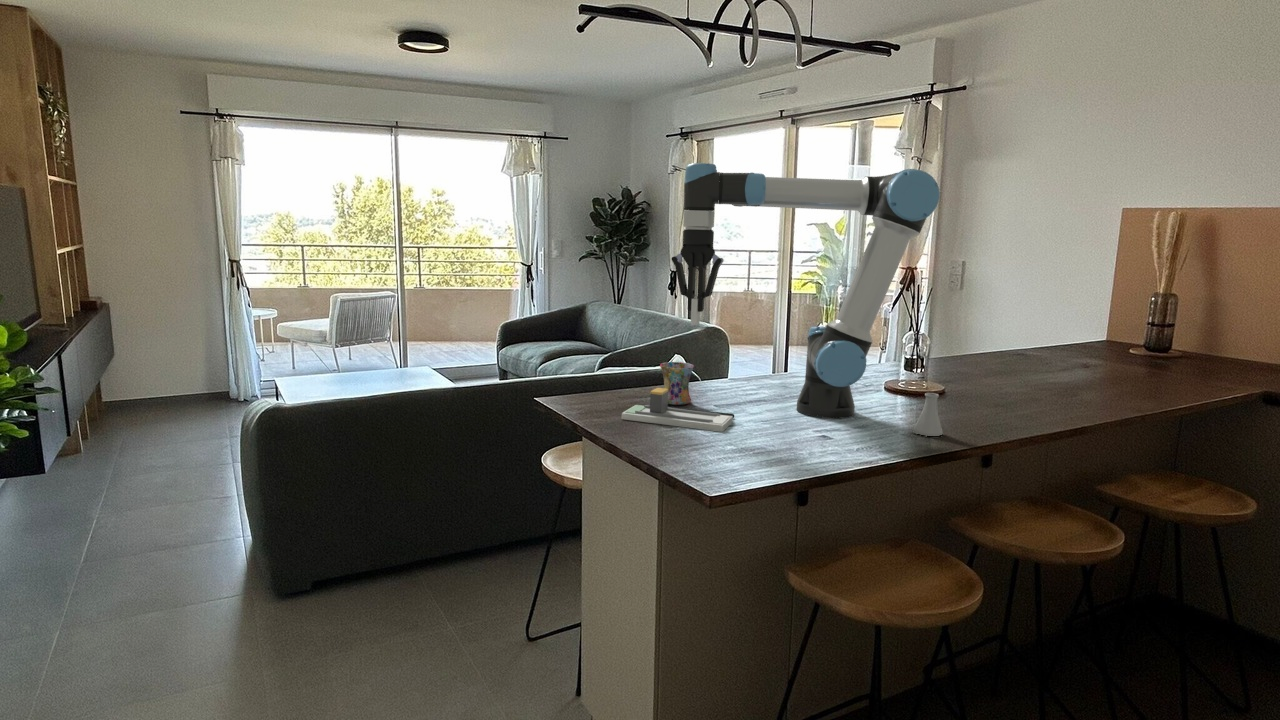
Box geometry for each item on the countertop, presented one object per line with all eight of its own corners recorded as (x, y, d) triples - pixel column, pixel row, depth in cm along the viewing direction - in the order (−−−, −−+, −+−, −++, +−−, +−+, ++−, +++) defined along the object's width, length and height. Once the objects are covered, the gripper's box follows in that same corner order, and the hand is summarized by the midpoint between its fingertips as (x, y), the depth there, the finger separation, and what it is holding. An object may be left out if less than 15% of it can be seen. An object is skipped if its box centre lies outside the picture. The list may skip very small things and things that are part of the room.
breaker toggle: (667, 410, 196) (668, 388, 195) (661, 414, 191) (661, 392, 190) (656, 408, 197) (657, 387, 196) (649, 413, 192) (650, 391, 191)
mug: (697, 406, 208) (699, 367, 206) (664, 407, 206) (666, 368, 204) (682, 396, 219) (684, 359, 218) (651, 397, 217) (652, 360, 215)
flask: (940, 440, 182) (944, 399, 181) (909, 434, 186) (912, 394, 184) (946, 433, 188) (950, 393, 187) (915, 428, 192) (919, 389, 190)
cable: (734, 418, 197) (734, 413, 197) (733, 419, 196) (734, 414, 195) (647, 409, 203) (647, 404, 203) (646, 410, 202) (646, 405, 202)
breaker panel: (732, 422, 193) (732, 413, 192) (722, 431, 184) (722, 423, 183) (635, 410, 202) (635, 402, 201) (621, 419, 192) (621, 410, 192)
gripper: (728, 229, 189) (724, 324, 193) (677, 227, 193) (674, 321, 198) (720, 229, 182) (716, 328, 186) (668, 228, 187) (665, 324, 191)
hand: (695, 324), depth 192 cm, fingers closed
